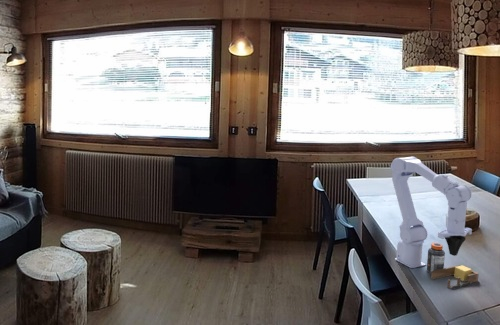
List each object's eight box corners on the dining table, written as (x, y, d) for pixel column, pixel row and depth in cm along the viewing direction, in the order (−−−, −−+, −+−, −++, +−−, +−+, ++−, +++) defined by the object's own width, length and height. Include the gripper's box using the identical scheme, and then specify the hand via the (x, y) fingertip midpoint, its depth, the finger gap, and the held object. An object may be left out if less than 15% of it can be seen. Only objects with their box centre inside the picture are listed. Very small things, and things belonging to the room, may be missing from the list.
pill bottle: (427, 267, 155) (429, 240, 153) (443, 270, 152) (446, 243, 150) (425, 272, 150) (427, 245, 148) (442, 276, 147) (445, 248, 145)
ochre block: (454, 276, 147) (455, 267, 146) (461, 275, 149) (462, 265, 148) (463, 281, 143) (464, 271, 143) (470, 279, 145) (471, 269, 144)
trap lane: (430, 278, 145) (431, 271, 145) (459, 272, 151) (459, 265, 150) (451, 289, 137) (451, 281, 136) (480, 282, 142) (481, 274, 142)
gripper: (450, 224, 133) (447, 261, 135) (480, 219, 138) (477, 255, 140) (434, 218, 140) (431, 254, 142) (463, 214, 145) (460, 248, 147)
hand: (453, 254), depth 141 cm, fingers closed
